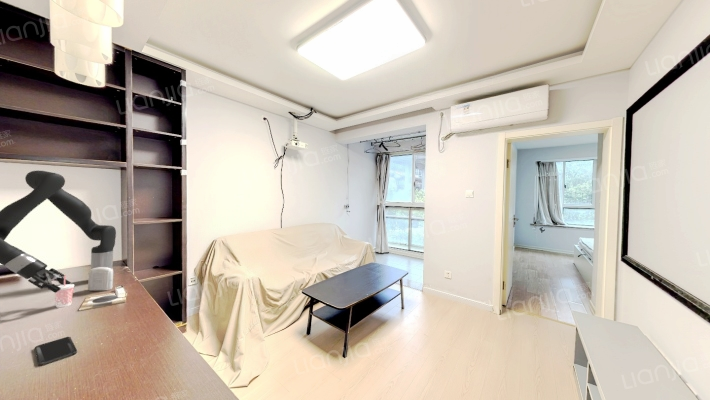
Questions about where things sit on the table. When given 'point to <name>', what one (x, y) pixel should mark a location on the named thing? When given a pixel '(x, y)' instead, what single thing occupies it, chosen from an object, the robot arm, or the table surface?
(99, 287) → the photo printer
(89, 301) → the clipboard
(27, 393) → the table surface
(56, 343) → the phone
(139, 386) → the table surface
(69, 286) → the beverage cup
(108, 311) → the table surface
